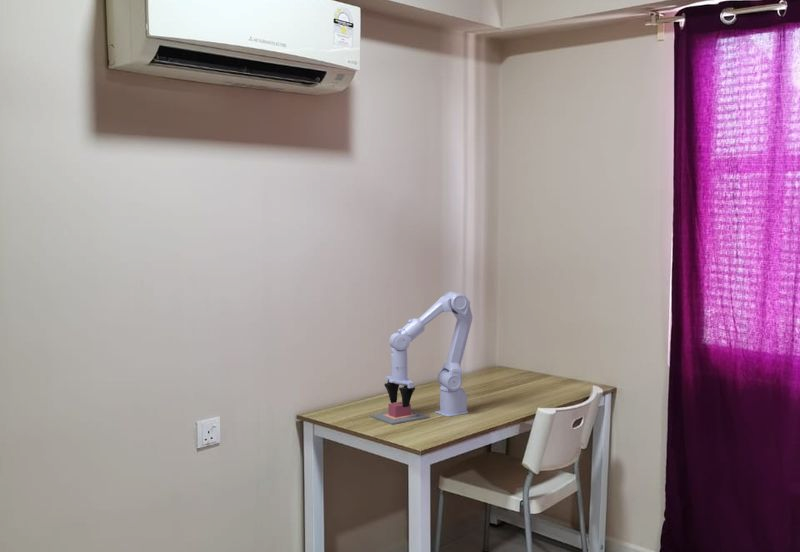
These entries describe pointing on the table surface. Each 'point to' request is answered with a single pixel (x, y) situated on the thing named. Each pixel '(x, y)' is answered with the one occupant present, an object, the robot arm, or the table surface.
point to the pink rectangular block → (398, 410)
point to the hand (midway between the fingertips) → (399, 404)
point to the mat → (392, 420)
